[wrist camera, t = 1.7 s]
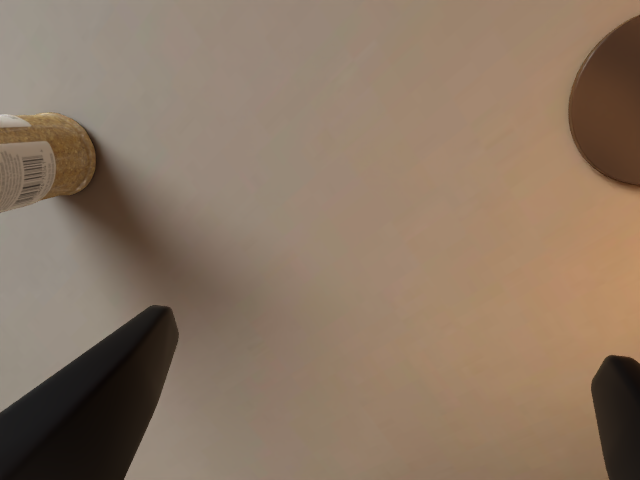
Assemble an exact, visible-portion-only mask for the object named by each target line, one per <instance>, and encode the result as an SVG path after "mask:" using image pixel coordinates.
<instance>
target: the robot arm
mask: <svg viewBox="0 0 640 480" xmlns="http://www.w3.org/2000/svg"><path fill="white" fill-rule="evenodd" d="M178 337H179V333H178V328H177V325H176V321H175V318H174V315H173V311H172V309H171V308H170V307H167V306H158V305H153V306H150V307H148V308H147V309H145V310H144V311H143V312H141V313H140V314H138V315H137V316H136V317H134V318H133V319H131V320H130V321H129V322H127V323H126V324H124V325H123V326H121V327H120V328H119V329H117V330H116V331H114V332H113V333H112V334H110V335H109V336H107V337H106V338H105V339H103V340H102V341H100V342H99V343H98V344H96V345H95V346H93V347H92V348H91V349H89V350H88V351H86V352H85V353H84V354H82V355H81V356H79V357H78V358H77V359H75V360H74V361H72V362H71V363H70V364H68V365H67V366H65V367H64V368H62V369H61V370H60V371H58V372H57V373H55V374H54V375H53V376H51V377H50V378H48V379H47V380H46V381H44V382H43V383H41V384H40V385H39V386H37V387H36V388H34V389H33V390H32V391H30V392H29V393H27V394H26V395H25V396H23V397H22V398H20V399H19V400H18V401H16V402H15V403H13V404H12V405H10V406H9V407H8V408H6V409H5V410H3V411H2V412H1V413H0V480H124V478H125V476H126V473H127V471H128V469H129V467H130V465H131V462H132V460H133V458H134V456H135V453H136V451H137V449H138V447H139V445H140V442H141V440H142V438H143V436H144V433H145V431H146V429H147V427H148V425H149V422H150V420H151V418H152V416H153V413H154V411H155V408H156V406H157V403H158V401H159V398H160V395H161V392H162V389H163V386H164V383H165V380H166V376H167V373H168V370H169V367H170V364H171V361H172V358H173V355H174V352H175V349H176V346H177V342H178ZM591 392H592V397H593V403H594V408H595V413H596V419H597V424H598V430H599V435H600V440H601V446H602V451H603V456H604V461H605V465H606V469H607V473H608V477H609V480H640V364H639V363H638V362H637V361H636V360H634V359H633V358H630V357H625V356H616V355H609V356H608V357H606V358H605V360H604V361H603V363H602V365H601V366H600V368H599V370H598V371H597V373H596V375H595V376H594V378H593V380H592V384H591Z"/></svg>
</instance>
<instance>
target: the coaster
mask: <svg viewBox="0 0 640 480" xmlns="http://www.w3.org/2000/svg"><path fill="white" fill-rule="evenodd" d="M568 110H569V124H570V130H571V133H572V136H573V139H574V142H575V144H576V146H577V148H578V150H579V151H580V153H581V154H582V155H583V157H584V158H585V159H586V160H587V161H588V162H589V163H590V164H591V165H592V166H593V167H594V168H596V169H597V170H598V171H600V172H601V173H603V174H605V175H607V176H608V177H611V178H614V179H616V180H619V181H622V182H626V183H631V184H638V185H640V15H638V16H636V17H634V18H631V19H629V20H628V21H626V22H624V23H623V24H621V25H619V26H618V27H617V28H615V29H614V30H613V31H611V32H610V33H609V34H607V35H606V36H605V37H604V38H603V39H602V40H601V41H600V42H599V43H598V44H597V45H596V46H595V48H594V49H593V50H592V51H591V52H590V53H589V55H588V56H587V58H586V59H585V61H584V62H583V64H582V66H581V68H580V70H579V72H578V73H577V76H576V78H575V81H574V84H573V86H572V90H571V94H570V100H569V109H568Z"/></svg>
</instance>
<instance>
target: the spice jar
mask: <svg viewBox="0 0 640 480" xmlns="http://www.w3.org/2000/svg"><path fill="white" fill-rule="evenodd" d="M95 165H96V155H95V150H94V146H93V144H92V142H91V140H90V138H89V136H88V134H87V133H86V131H85V130H84V128H83V127H82V126H80V125H79V124H78V123H77V122H75V121H74V120H72V119H71V118H68V117H66V116H64V115H61V114H58V113H41V114H37V115H19V116H12V115H5V114H0V213H1V212H5V211H8V210H12V209H16V208H20V207H23V206H27V205H30V204H33V203H36V202H38V201H39V200H43V199H47V198H51V197H55V196H60V195H72V194H75V193H77V192H79V191H81V190H83V189H84V188H85V187H86V186H87V185H88V184H89V182H90V181H91V179H92V177H93V173H94V172H95V167H96V166H95Z"/></svg>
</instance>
